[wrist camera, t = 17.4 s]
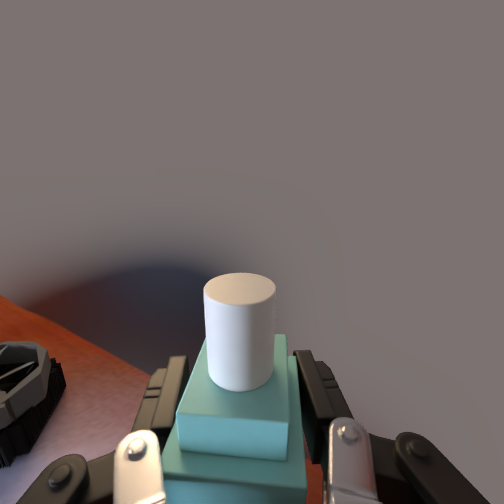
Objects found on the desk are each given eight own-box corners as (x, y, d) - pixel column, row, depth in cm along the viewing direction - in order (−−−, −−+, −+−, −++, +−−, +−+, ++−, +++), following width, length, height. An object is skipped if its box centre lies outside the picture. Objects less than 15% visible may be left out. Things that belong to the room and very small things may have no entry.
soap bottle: (283, 546, 17) (303, 259, 11) (284, 706, 12) (322, 345, 6) (214, 538, 17) (196, 255, 11) (188, 689, 12) (131, 334, 6)
